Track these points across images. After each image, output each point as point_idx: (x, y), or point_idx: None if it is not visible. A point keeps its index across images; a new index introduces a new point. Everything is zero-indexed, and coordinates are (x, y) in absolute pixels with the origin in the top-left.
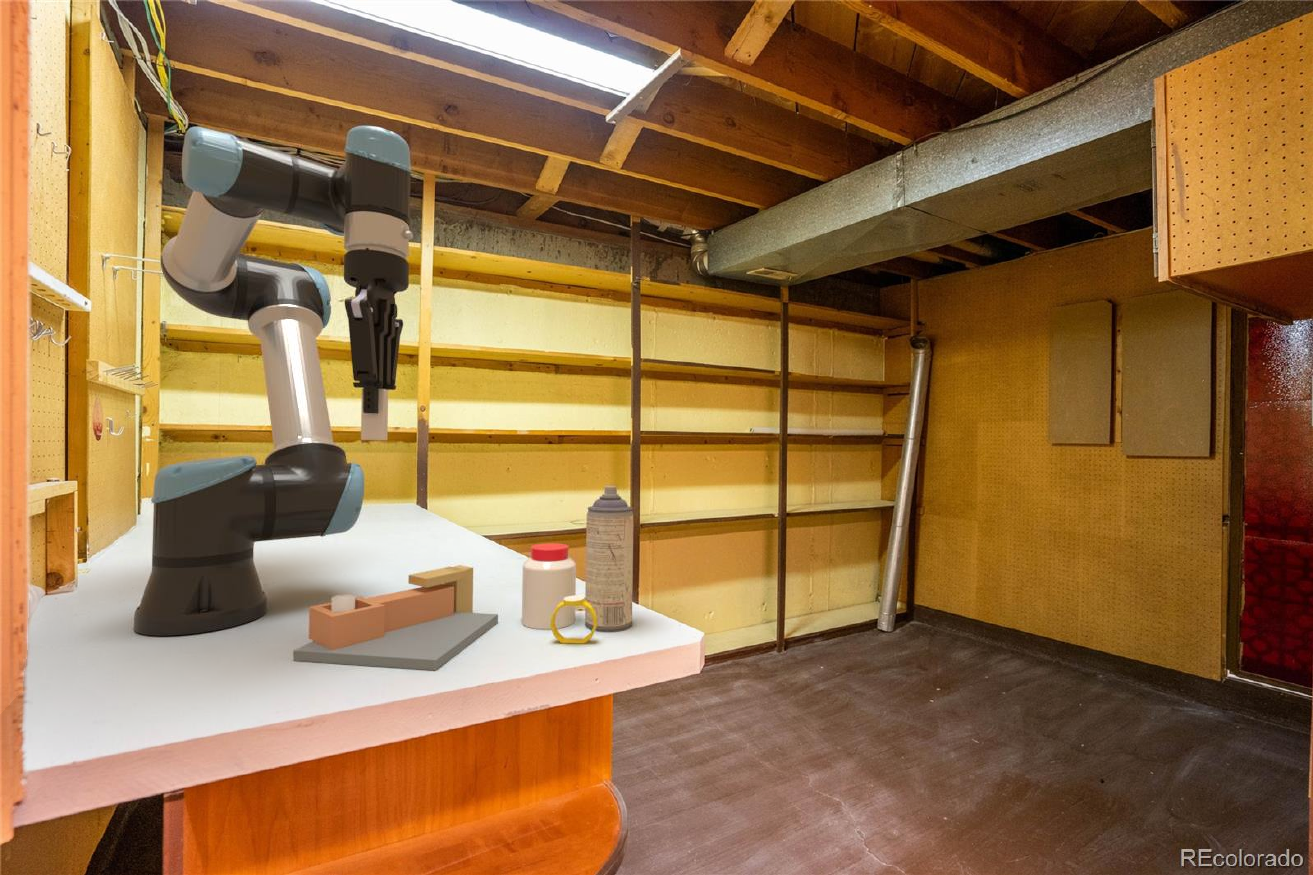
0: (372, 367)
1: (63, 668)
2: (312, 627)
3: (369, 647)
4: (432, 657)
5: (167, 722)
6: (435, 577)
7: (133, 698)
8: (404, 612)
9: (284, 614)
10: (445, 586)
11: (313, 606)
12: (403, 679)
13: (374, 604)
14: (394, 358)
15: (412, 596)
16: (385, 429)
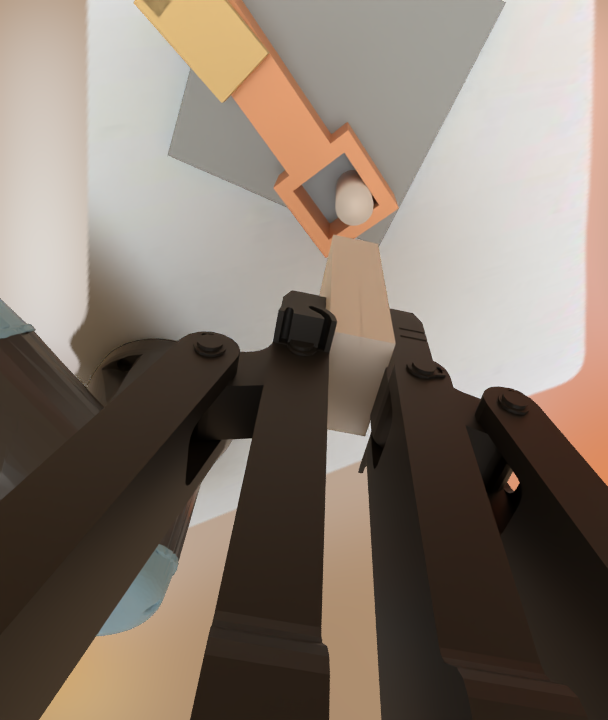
0: (569, 447)
1: (329, 456)
2: None
3: (398, 136)
4: (488, 11)
5: (530, 313)
6: (250, 31)
7: (445, 366)
8: (301, 94)
9: (149, 313)
10: None
11: (325, 252)
12: (516, 59)
13: (336, 151)
14: (149, 453)
15: (288, 81)
16: (356, 253)
